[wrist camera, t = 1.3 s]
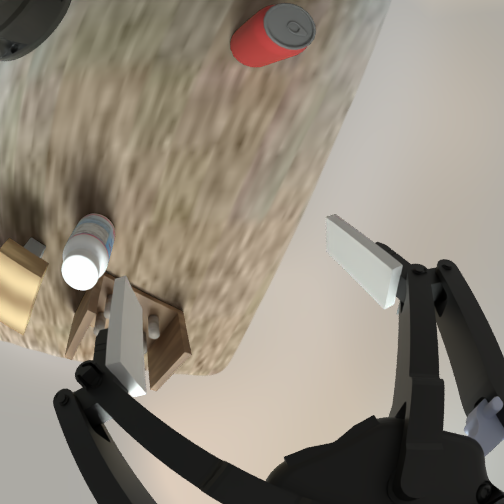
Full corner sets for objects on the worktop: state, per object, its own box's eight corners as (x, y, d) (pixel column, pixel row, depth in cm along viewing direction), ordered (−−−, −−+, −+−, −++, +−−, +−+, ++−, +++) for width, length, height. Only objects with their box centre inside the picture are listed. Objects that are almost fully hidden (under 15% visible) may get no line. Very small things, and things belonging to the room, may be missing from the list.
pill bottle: (103, 257, 38) (90, 304, 29) (70, 236, 35) (48, 279, 25) (123, 226, 37) (114, 268, 28) (89, 203, 34) (68, 238, 24)
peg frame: (74, 314, 40) (64, 356, 32) (98, 268, 38) (87, 310, 30) (152, 349, 49) (156, 391, 41) (183, 311, 47) (191, 354, 39)
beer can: (264, 75, 33) (306, 65, 23) (221, 56, 30) (247, 34, 20) (283, 39, 30) (329, 20, 20) (241, 18, 27) (275, -12, 17)
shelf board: (29, 319, 32) (23, 335, 29) (-6, 298, 28) (-14, 312, 25) (48, 263, 29) (41, 278, 27) (9, 237, 26) (-2, 250, 23)
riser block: (18, 274, 34) (6, 296, 29) (31, 237, 32) (16, 256, 27) (32, 283, 35) (21, 305, 30) (45, 246, 34) (33, 267, 29)
